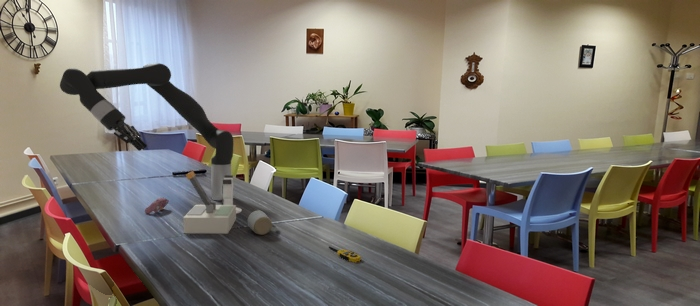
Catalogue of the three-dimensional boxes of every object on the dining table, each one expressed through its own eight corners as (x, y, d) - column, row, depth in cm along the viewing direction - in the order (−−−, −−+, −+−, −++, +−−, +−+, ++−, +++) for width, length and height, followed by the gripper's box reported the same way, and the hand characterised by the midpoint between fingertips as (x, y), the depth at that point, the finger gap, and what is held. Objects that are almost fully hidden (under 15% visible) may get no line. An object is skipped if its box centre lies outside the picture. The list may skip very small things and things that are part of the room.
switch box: (183, 233, 160) (183, 209, 159) (196, 218, 178) (195, 197, 177) (228, 233, 162) (228, 209, 160) (235, 219, 179) (235, 197, 178)
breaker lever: (208, 212, 167) (185, 175, 164) (210, 209, 171) (188, 173, 168) (213, 209, 167) (190, 172, 164) (215, 207, 171) (192, 170, 168)
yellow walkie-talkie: (352, 258, 138) (323, 245, 149) (352, 264, 138) (323, 250, 149) (363, 255, 141) (334, 242, 152) (363, 261, 141) (334, 247, 152)
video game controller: (151, 218, 182) (158, 204, 180) (142, 212, 182) (149, 198, 181) (166, 212, 191) (172, 198, 190) (157, 206, 192) (163, 193, 190)
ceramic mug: (253, 237, 159) (254, 216, 158) (246, 230, 166) (247, 211, 165) (281, 233, 164) (281, 214, 163) (273, 227, 171) (273, 208, 170)
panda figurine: (216, 207, 196) (216, 174, 194) (242, 207, 198) (242, 174, 196) (213, 215, 184) (213, 180, 182) (241, 214, 186) (241, 180, 184)
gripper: (106, 108, 153) (143, 143, 156) (123, 107, 167) (157, 139, 170) (91, 123, 153) (128, 158, 156) (109, 120, 167) (143, 152, 170)
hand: (143, 148), depth 163 cm, fingers open, 3 cm apart
